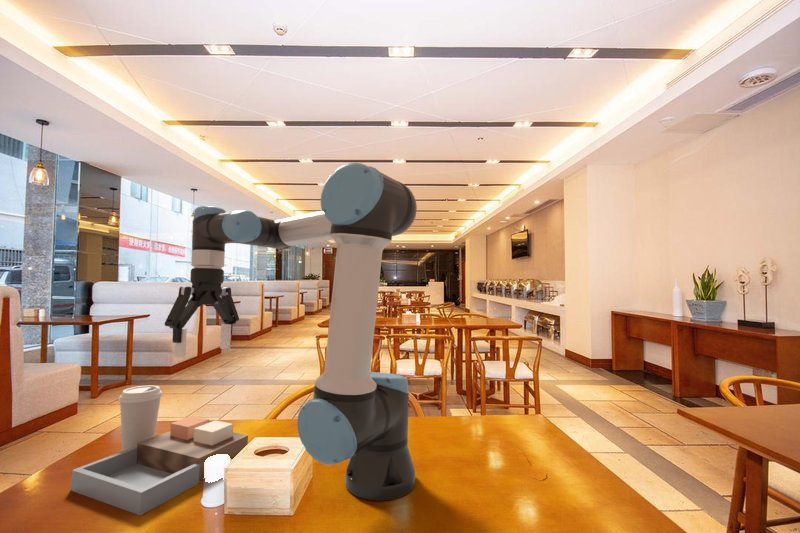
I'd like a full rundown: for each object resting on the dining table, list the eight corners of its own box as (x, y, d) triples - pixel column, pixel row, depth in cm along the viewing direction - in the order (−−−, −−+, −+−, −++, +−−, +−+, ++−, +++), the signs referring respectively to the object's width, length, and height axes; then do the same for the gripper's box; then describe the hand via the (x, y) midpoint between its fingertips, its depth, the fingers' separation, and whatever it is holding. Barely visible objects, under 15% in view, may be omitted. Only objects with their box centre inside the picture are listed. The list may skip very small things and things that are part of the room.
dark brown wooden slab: (247, 456, 92) (248, 435, 92) (197, 482, 79) (198, 458, 79) (189, 442, 100) (190, 423, 100) (135, 464, 87) (136, 442, 87)
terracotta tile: (208, 431, 95) (209, 419, 95) (187, 439, 89) (188, 427, 89) (191, 427, 97) (192, 415, 97) (170, 435, 91) (170, 423, 92)
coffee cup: (136, 458, 90) (140, 395, 91) (104, 454, 92) (108, 392, 93) (168, 443, 99) (172, 385, 100) (138, 439, 101) (142, 383, 102)
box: (198, 483, 79) (199, 464, 79) (139, 515, 67) (141, 492, 68) (133, 464, 87) (134, 447, 87) (70, 490, 75) (72, 470, 76)
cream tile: (232, 436, 92) (233, 423, 92) (212, 445, 86) (212, 432, 86) (214, 432, 94) (215, 420, 94) (193, 441, 88) (194, 428, 89)
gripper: (233, 271, 108) (230, 345, 106) (149, 264, 84) (144, 359, 83) (254, 270, 105) (251, 346, 104) (174, 264, 82) (168, 361, 80)
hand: (203, 352), depth 93 cm, fingers open, 13 cm apart
